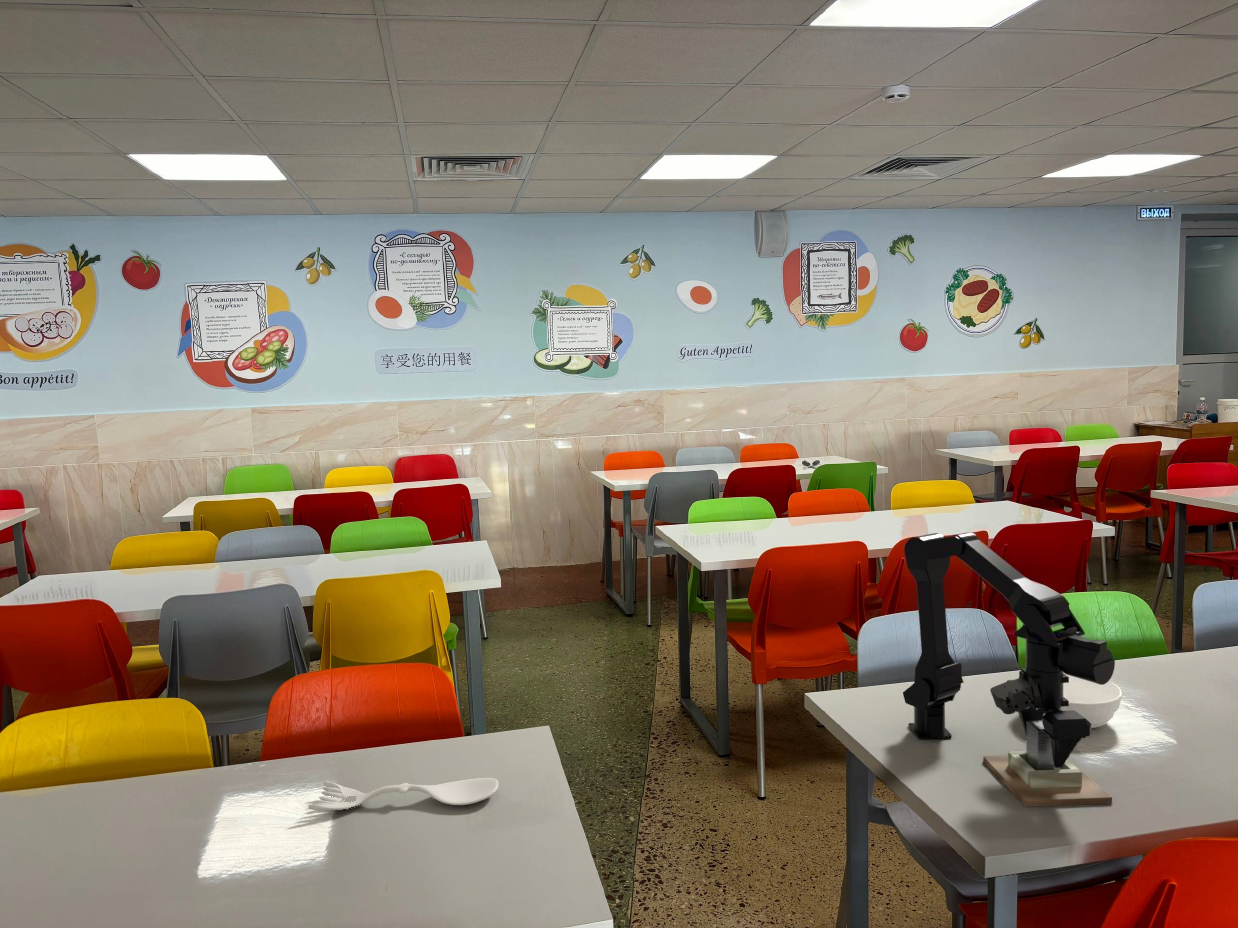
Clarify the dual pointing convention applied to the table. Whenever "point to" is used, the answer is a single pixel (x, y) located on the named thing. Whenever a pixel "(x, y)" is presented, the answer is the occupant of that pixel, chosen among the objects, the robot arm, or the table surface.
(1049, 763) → the grey tall block
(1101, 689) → the bowl
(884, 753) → the table surface
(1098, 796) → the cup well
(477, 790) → the white spork
